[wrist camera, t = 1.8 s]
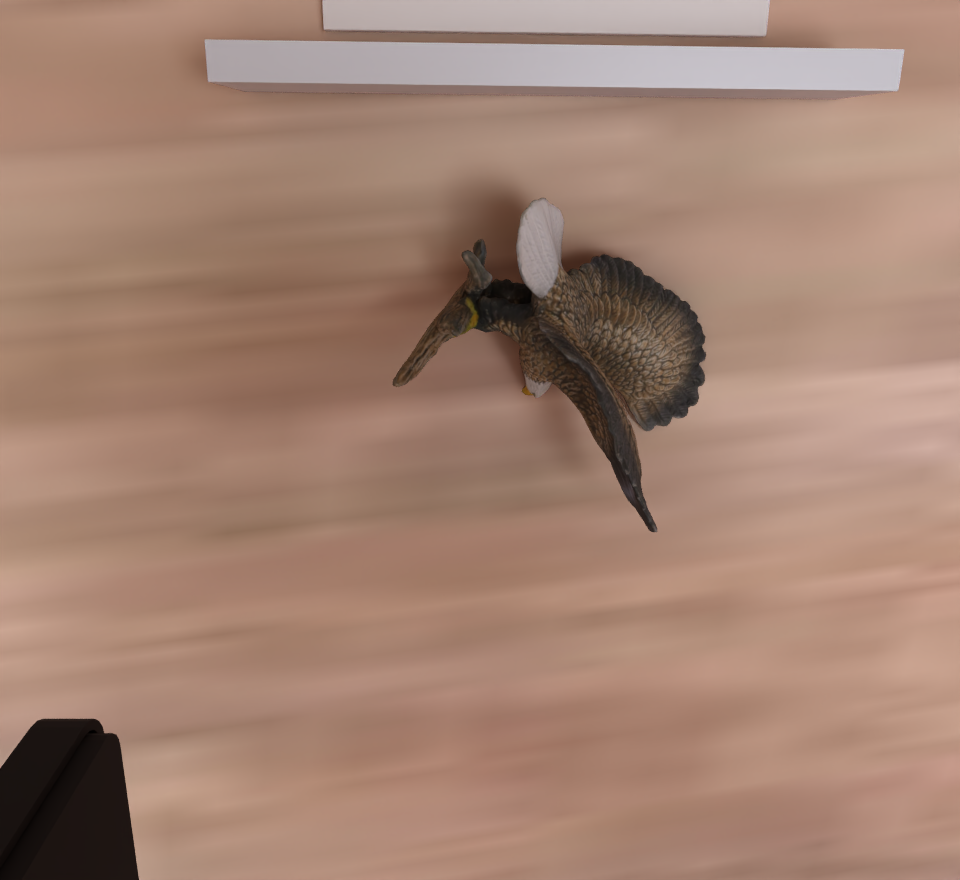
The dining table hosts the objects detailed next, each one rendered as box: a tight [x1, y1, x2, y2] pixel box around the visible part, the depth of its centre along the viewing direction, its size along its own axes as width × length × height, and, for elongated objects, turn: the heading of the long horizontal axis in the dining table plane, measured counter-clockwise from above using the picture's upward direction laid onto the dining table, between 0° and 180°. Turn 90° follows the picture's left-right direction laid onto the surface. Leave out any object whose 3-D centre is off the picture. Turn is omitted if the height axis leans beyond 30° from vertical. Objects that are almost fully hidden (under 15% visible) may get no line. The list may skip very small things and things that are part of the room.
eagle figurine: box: [393, 198, 706, 532], centre depth 26 cm, size 8×7×9 cm
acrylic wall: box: [205, 39, 904, 99], centre depth 25 cm, size 18×1×4 cm, turn 89°
